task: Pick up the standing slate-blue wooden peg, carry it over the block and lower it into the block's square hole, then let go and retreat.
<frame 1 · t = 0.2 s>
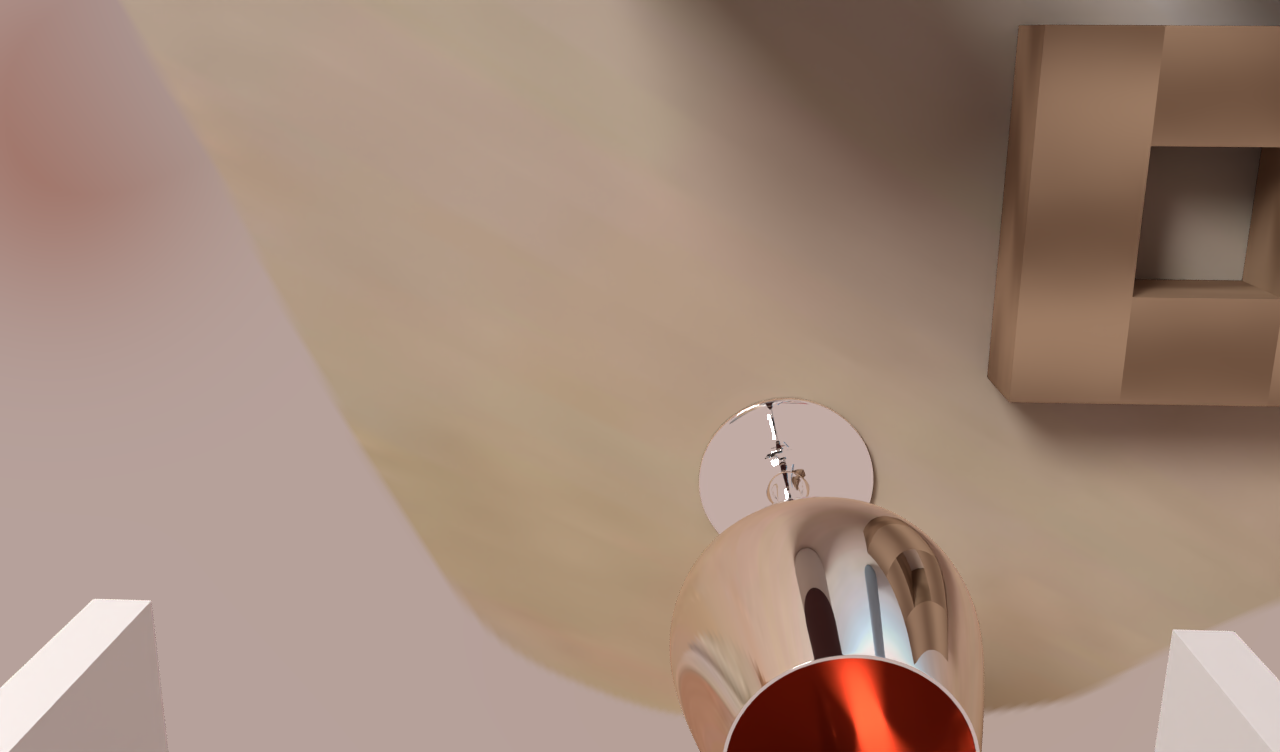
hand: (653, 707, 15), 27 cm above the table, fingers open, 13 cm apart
wineglass: (784, 476, 44), on the table
hole block: (1180, 210, 40), on the table
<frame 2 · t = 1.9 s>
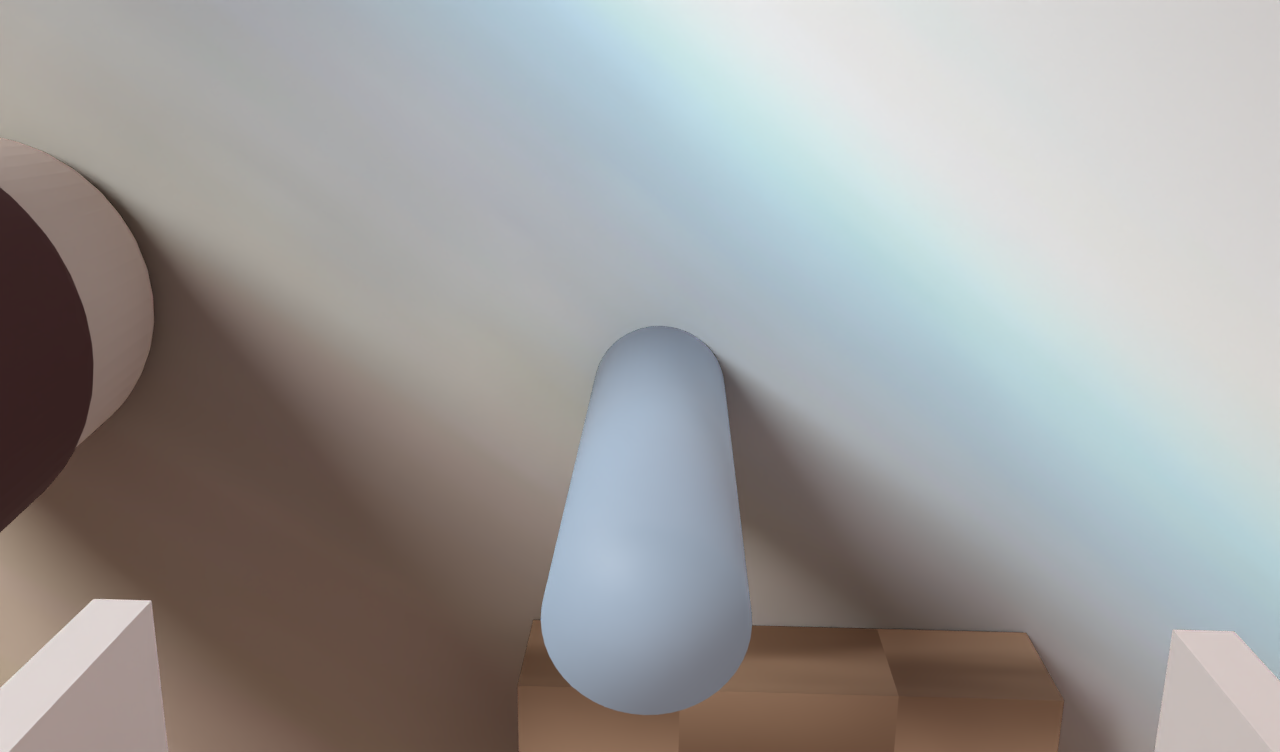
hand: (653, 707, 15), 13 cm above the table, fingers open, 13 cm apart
coffee cup: (10, 290, 27), on the table
peg: (659, 389, 27), on the table
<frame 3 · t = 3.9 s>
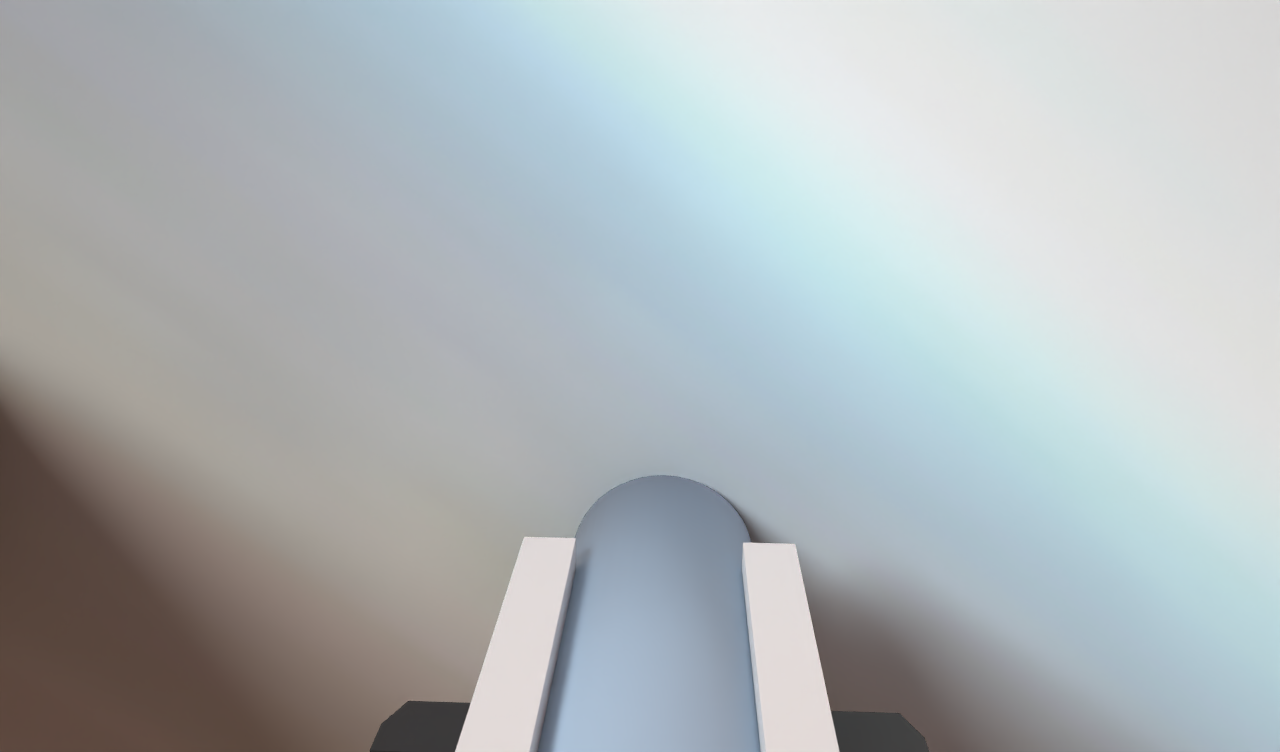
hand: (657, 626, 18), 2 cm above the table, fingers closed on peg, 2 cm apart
peg: (662, 560, 20), on the table, touching gripper
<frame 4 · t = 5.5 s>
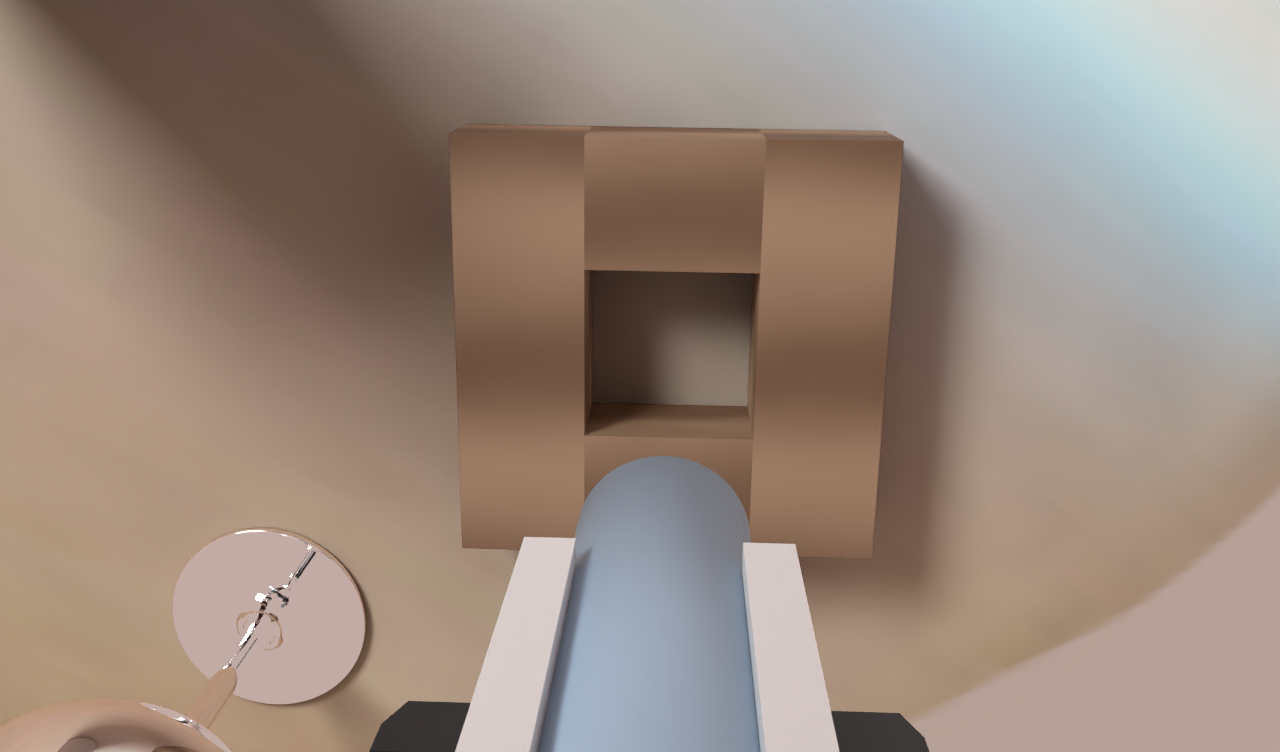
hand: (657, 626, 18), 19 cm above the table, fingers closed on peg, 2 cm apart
wineglass: (272, 611, 39), on the table
peg: (663, 537, 21), point 16 cm above the table, touching gripper
hole block: (671, 329, 36), on the table
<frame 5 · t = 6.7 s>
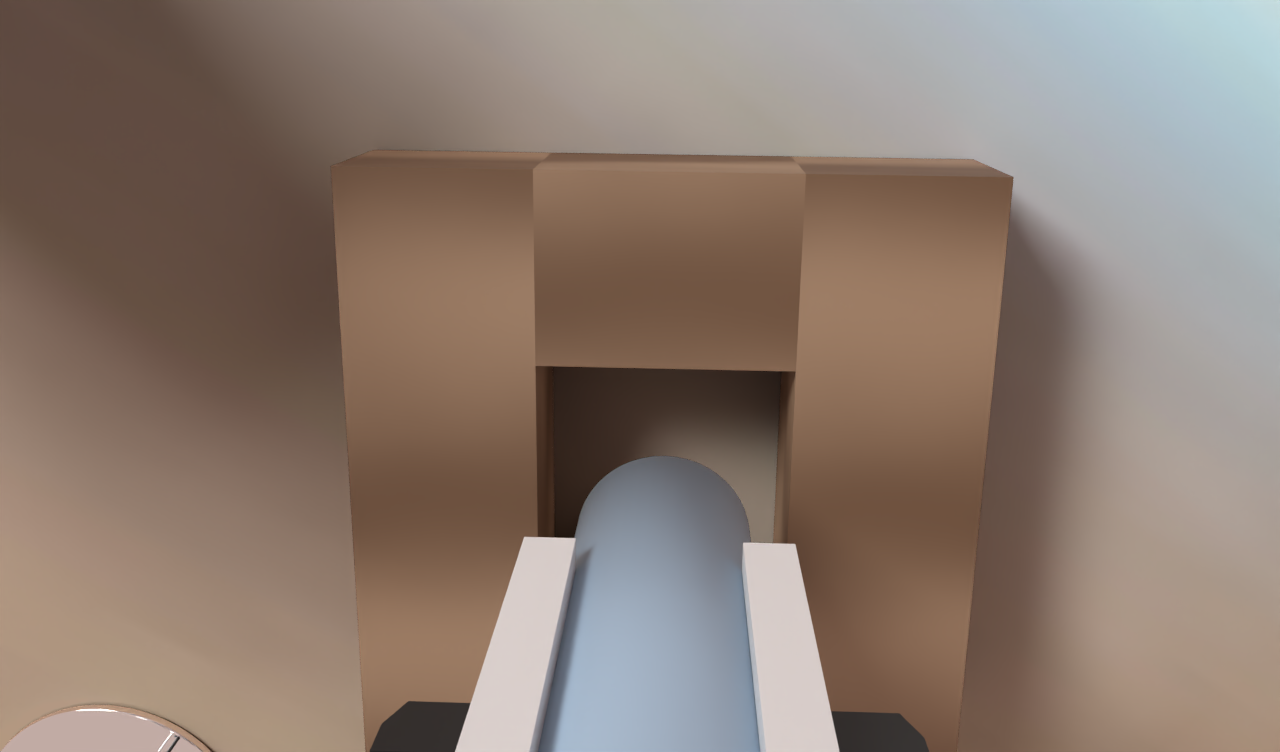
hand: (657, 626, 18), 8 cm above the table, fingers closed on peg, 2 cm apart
peg: (663, 537, 21), point 5 cm above the table, touching gripper
hole block: (665, 438, 25), on the table
when the fingers open (4 cm above the table, at t = 7.8 s): peg stays where it is, resting in hole block.
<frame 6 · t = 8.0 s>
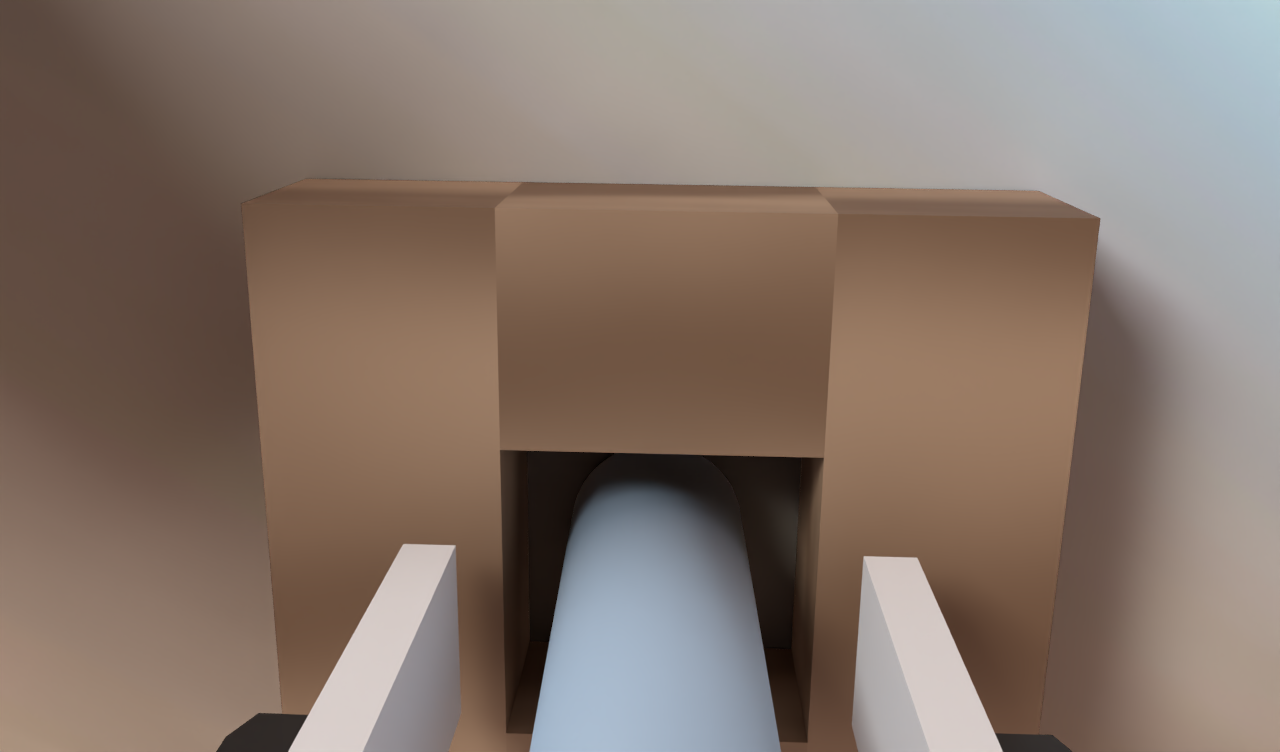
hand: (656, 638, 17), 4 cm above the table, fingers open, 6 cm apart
peg: (656, 523, 21), resting in hole block
hole block: (662, 523, 21), on the table
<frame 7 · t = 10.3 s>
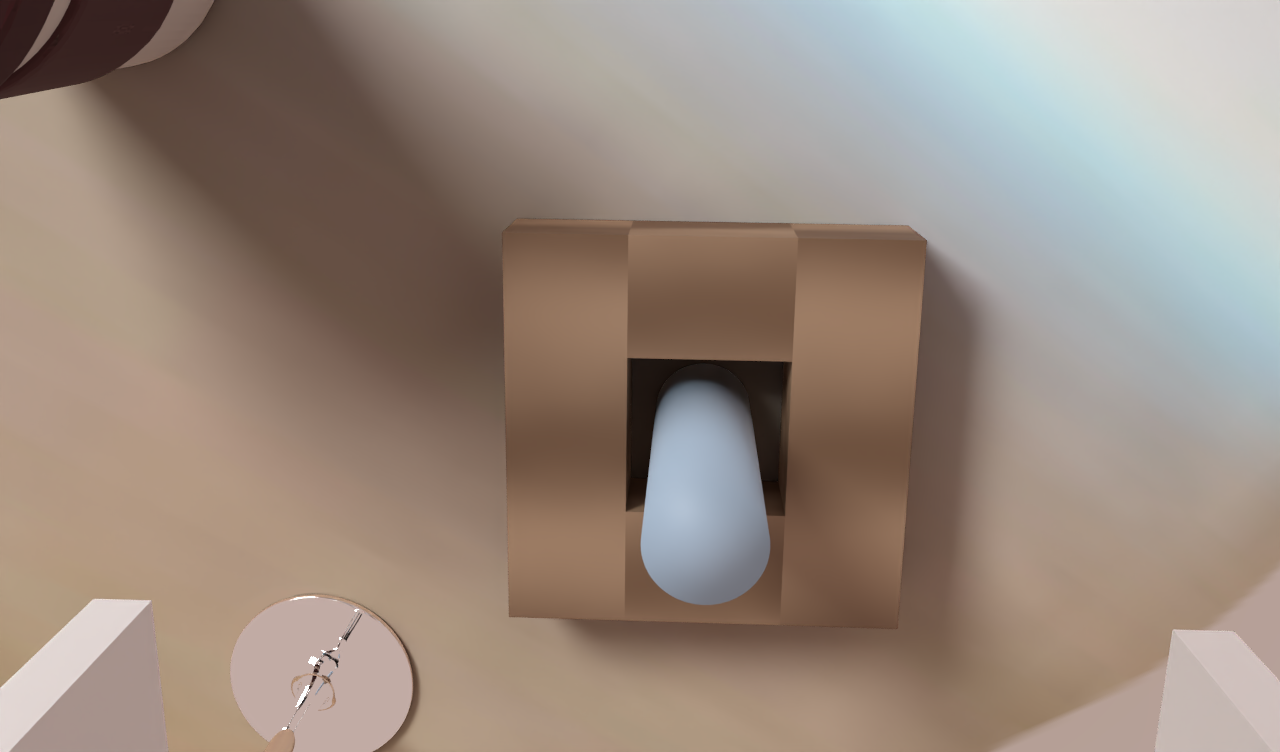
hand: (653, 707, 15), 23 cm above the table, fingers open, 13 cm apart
wineglass: (324, 673, 41), on the table
peg: (702, 408, 38), resting in hole block
hole block: (706, 409, 38), on the table
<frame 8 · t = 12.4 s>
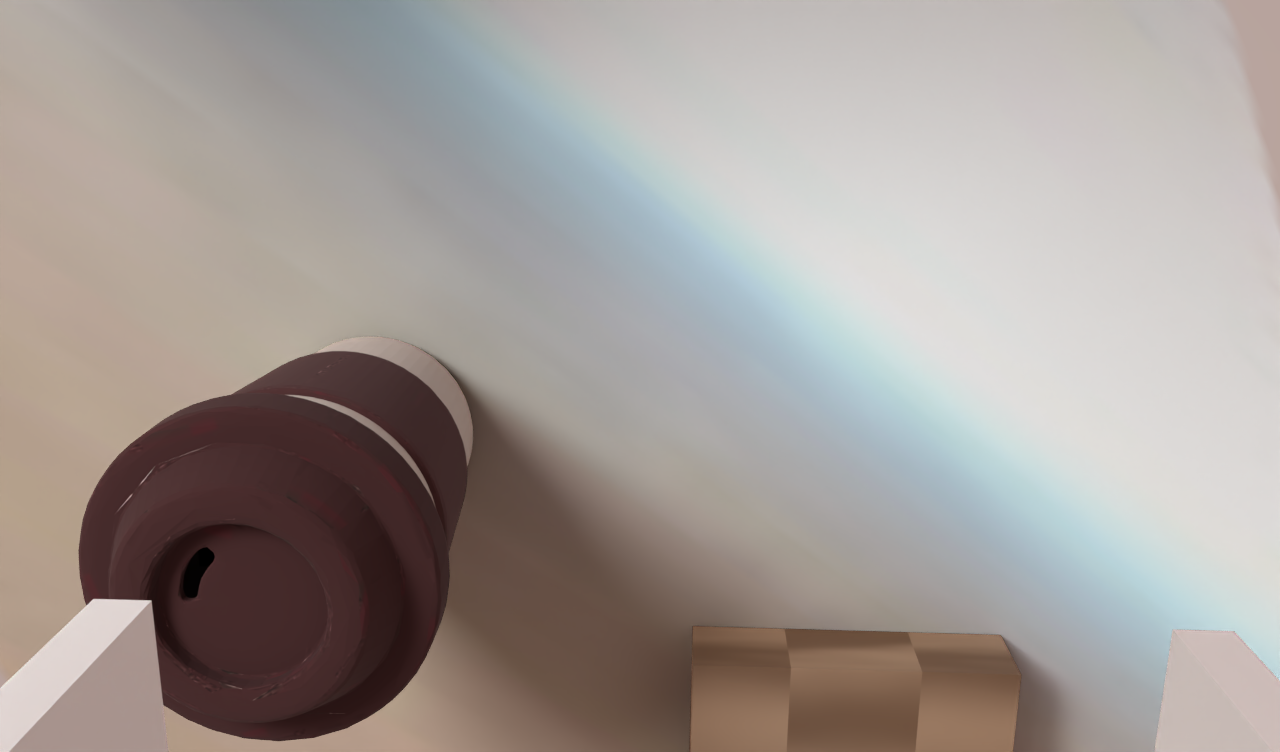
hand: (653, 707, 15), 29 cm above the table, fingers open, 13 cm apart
coffee cup: (381, 424, 45), on the table
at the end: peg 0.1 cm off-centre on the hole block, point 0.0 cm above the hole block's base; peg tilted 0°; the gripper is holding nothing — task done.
